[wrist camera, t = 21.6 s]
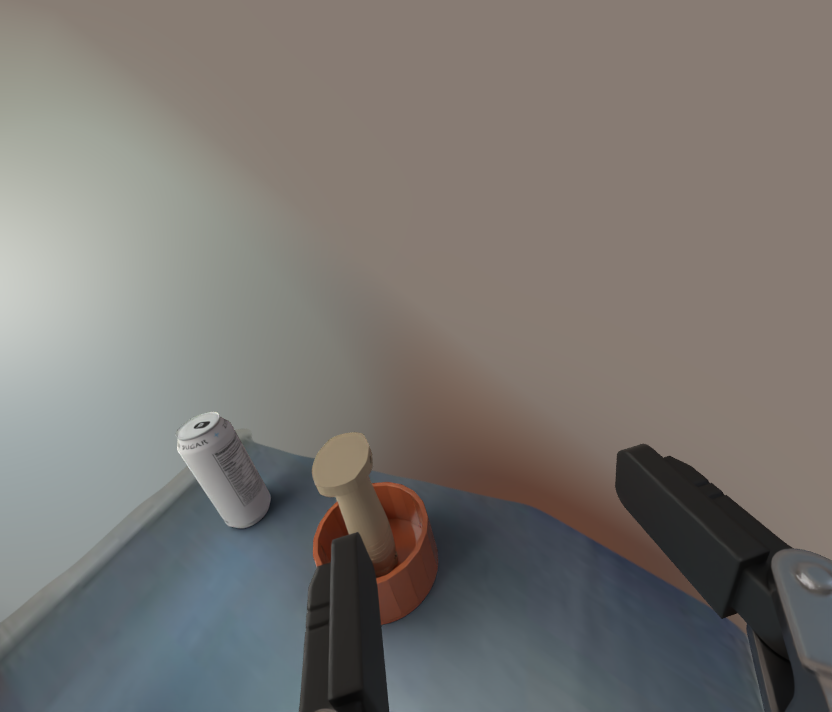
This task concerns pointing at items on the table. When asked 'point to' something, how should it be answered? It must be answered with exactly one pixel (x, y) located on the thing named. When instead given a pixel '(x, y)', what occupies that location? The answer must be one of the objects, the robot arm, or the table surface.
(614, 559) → the table surface
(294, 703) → the table surface
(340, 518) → the holder
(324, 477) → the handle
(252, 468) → the energy drink can
